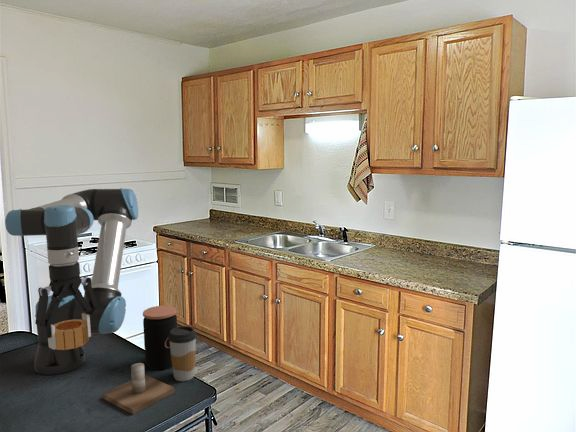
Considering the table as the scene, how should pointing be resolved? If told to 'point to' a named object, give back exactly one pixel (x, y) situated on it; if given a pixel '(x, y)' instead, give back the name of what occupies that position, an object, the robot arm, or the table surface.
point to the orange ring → (71, 334)
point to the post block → (138, 391)
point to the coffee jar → (158, 335)
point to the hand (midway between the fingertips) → (70, 341)
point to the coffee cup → (183, 352)
